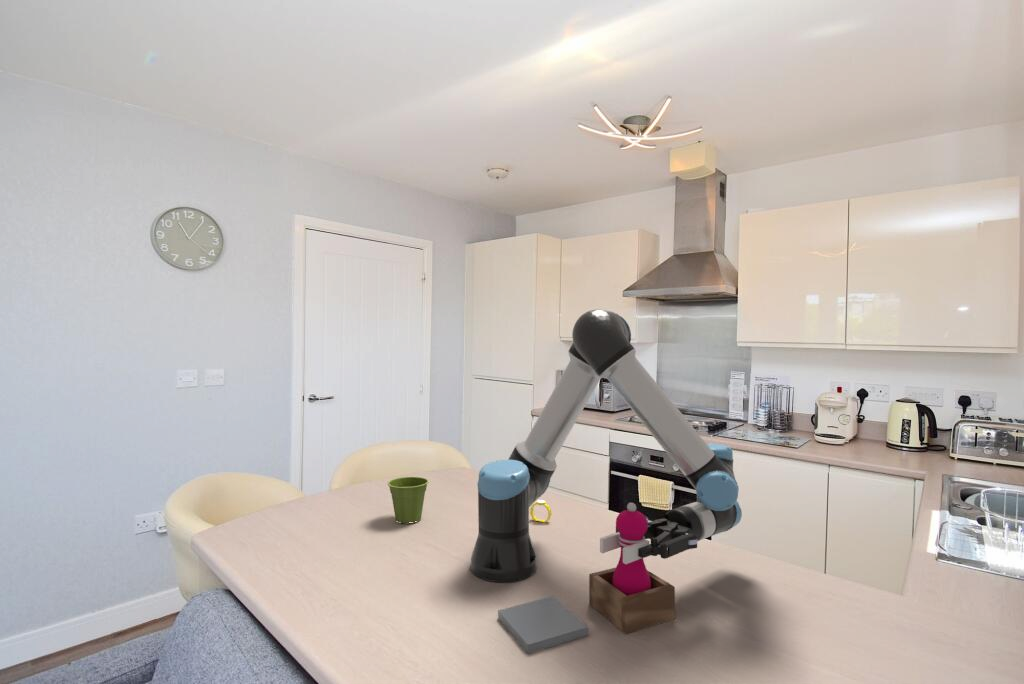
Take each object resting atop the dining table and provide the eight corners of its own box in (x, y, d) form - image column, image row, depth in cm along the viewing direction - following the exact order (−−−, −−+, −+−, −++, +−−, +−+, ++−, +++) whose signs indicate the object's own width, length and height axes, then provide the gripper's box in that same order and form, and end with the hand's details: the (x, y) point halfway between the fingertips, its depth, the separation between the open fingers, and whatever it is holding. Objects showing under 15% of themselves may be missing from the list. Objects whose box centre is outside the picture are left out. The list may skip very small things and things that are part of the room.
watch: (551, 522, 147) (553, 502, 146) (548, 525, 144) (549, 504, 144) (532, 517, 149) (533, 497, 149) (528, 521, 147) (530, 500, 146)
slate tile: (498, 618, 96) (498, 610, 96) (553, 603, 101) (553, 596, 101) (527, 653, 85) (527, 644, 85) (587, 635, 90) (587, 626, 90)
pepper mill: (629, 620, 93) (629, 511, 93) (604, 602, 100) (605, 500, 99) (659, 610, 96) (659, 505, 96) (633, 593, 103) (633, 495, 103)
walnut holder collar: (589, 604, 101) (589, 573, 101) (634, 591, 106) (634, 562, 106) (626, 634, 90) (625, 600, 90) (674, 618, 95) (674, 586, 95)
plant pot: (437, 517, 150) (437, 479, 150) (409, 530, 140) (408, 489, 140) (408, 510, 156) (407, 474, 156) (378, 522, 146) (378, 483, 146)
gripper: (727, 556, 101) (651, 590, 88) (653, 528, 116) (579, 554, 102) (727, 518, 101) (651, 546, 87) (653, 495, 116) (579, 516, 102)
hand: (612, 550), depth 95 cm, fingers closed on pepper mill, 5 cm apart
